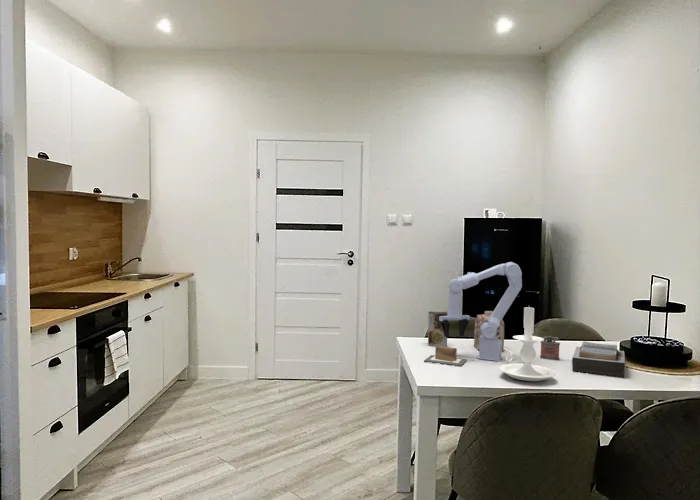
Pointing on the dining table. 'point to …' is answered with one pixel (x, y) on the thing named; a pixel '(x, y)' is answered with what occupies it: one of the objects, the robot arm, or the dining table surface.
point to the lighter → (550, 348)
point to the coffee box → (436, 330)
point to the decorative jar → (478, 333)
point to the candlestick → (527, 354)
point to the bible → (599, 360)
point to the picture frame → (456, 363)
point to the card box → (446, 353)
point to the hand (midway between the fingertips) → (454, 336)
